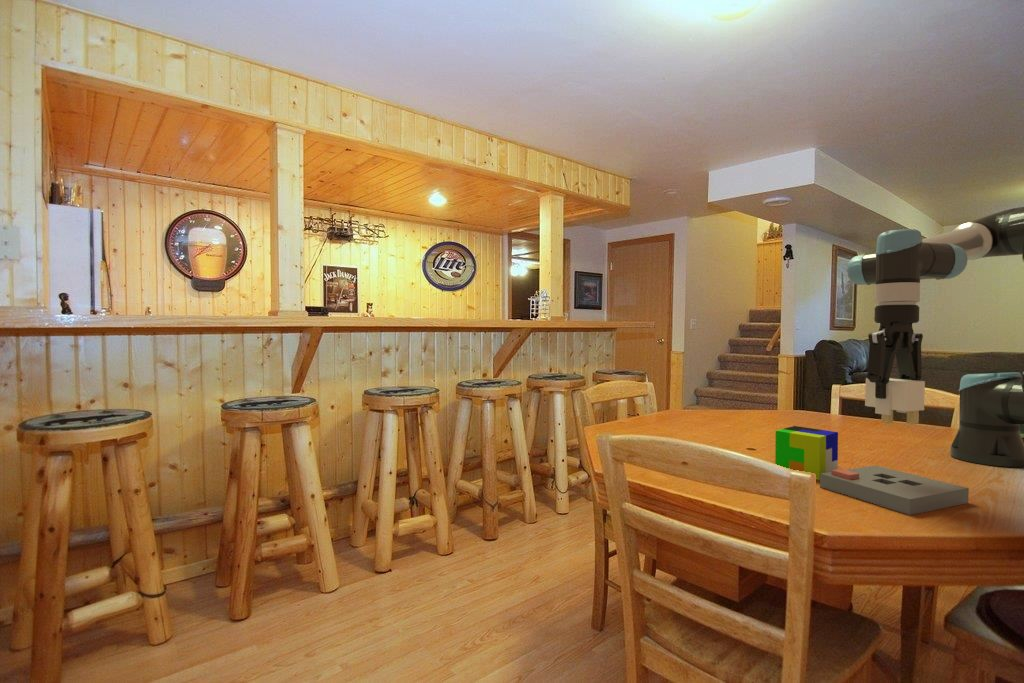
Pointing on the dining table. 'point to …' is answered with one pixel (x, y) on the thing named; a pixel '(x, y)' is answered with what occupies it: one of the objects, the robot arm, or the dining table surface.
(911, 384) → the plug
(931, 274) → the robot arm
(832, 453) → the puzzle toy
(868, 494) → the socket plate
